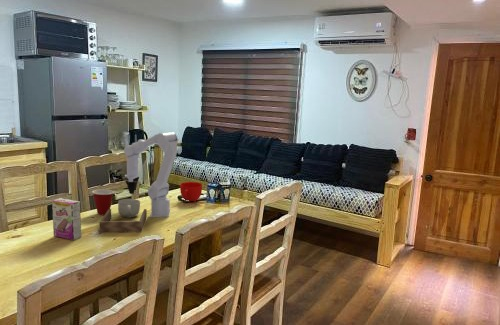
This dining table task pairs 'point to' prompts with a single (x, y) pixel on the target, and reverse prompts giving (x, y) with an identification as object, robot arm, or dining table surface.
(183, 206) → the dining table surface
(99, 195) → the plastic cup
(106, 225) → the cubby
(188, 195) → the ceramic cup
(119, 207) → the teacup
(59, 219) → the candy bar box
